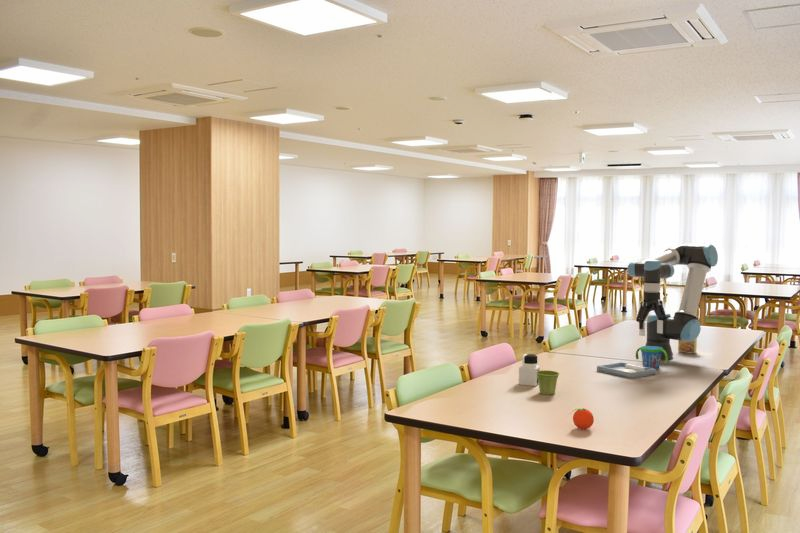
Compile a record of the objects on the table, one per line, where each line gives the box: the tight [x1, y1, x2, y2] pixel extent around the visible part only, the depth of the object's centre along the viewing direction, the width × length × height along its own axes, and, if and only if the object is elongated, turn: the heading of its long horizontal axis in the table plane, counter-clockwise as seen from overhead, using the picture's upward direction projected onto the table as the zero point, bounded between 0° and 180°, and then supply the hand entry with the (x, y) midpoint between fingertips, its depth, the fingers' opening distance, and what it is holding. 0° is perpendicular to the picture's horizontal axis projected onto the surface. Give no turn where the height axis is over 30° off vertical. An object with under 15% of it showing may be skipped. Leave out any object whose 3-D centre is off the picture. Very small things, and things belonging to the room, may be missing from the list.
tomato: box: [569, 408, 595, 430], centre depth 233 cm, size 8×7×7 cm
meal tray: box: [596, 361, 657, 380], centre depth 326 cm, size 18×20×3 cm
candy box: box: [677, 337, 698, 354], centre depth 381 cm, size 9×4×15 cm, turn 51°
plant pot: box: [536, 369, 560, 396], centre depth 284 cm, size 9×9×9 cm
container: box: [518, 353, 541, 387], centre depth 301 cm, size 8×8×13 cm
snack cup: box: [635, 345, 669, 370], centre depth 337 cm, size 16×10×10 cm
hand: (651, 334), depth 336 cm, fingers open, 13 cm apart
